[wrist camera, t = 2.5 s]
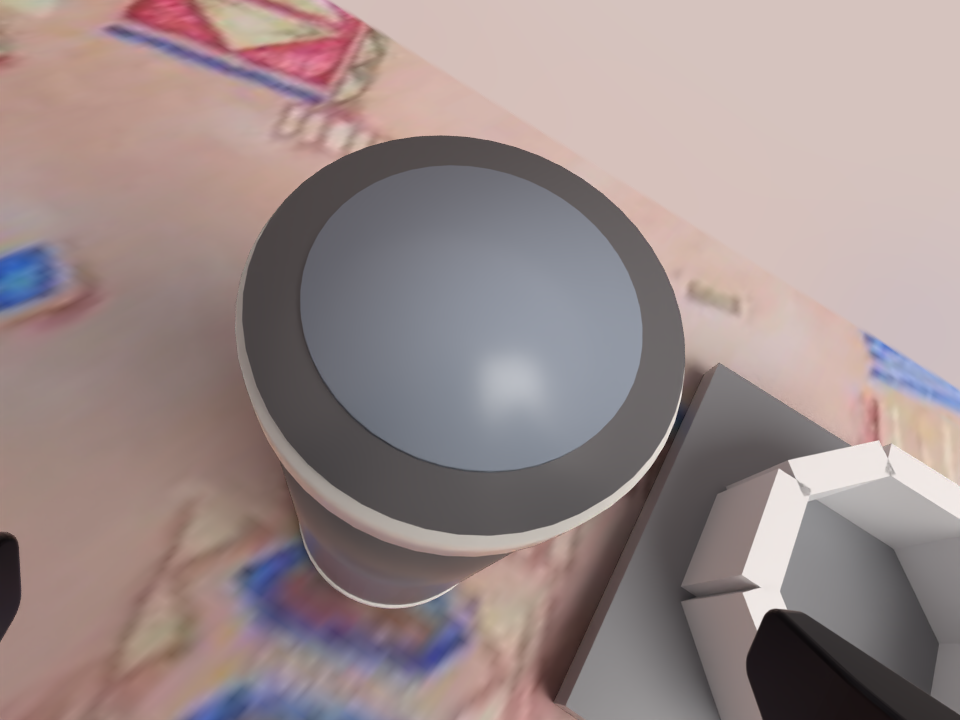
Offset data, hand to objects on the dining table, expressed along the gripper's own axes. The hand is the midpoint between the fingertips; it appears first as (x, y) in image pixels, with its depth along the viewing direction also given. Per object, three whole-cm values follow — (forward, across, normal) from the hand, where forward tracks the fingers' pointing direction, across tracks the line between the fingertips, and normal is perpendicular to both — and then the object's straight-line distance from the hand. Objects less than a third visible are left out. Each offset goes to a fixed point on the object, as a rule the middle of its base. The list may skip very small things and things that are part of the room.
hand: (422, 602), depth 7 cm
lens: (+9, 0, +5) cm, 11 cm away
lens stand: (+8, -13, +6) cm, 17 cm away
